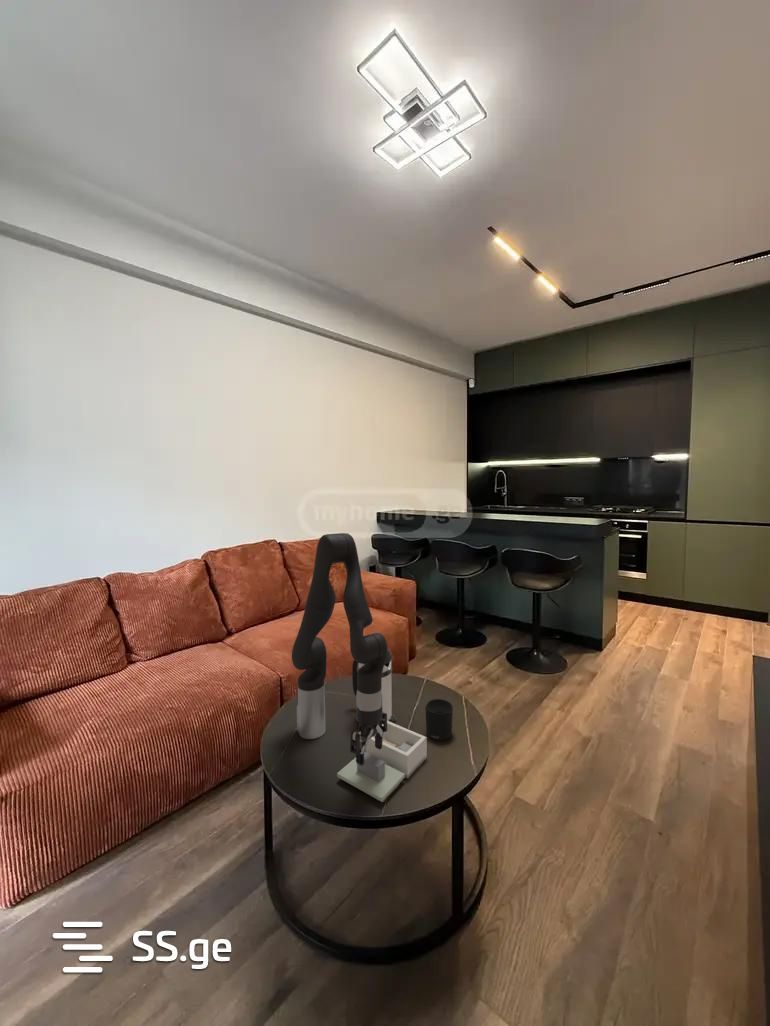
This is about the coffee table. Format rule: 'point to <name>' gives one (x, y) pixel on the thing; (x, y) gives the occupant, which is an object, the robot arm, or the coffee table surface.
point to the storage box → (400, 749)
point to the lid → (372, 776)
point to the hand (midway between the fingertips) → (369, 755)
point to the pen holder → (439, 719)
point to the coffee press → (386, 685)
